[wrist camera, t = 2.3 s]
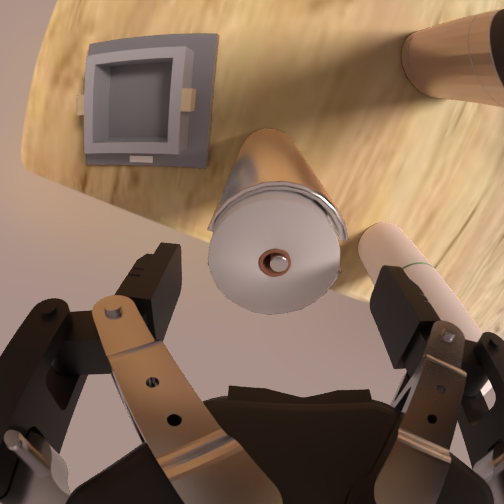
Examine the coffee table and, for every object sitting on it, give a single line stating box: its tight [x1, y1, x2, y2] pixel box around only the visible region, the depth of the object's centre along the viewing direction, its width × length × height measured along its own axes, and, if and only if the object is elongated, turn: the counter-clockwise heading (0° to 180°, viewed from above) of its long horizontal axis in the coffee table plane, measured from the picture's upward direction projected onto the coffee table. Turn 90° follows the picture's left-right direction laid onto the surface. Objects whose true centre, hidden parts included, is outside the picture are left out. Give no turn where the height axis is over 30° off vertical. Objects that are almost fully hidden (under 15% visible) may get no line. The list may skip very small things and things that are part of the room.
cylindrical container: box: [358, 222, 492, 395], centre depth 29 cm, size 7×7×25 cm
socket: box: [77, 34, 219, 169], centre depth 29 cm, size 16×16×6 cm
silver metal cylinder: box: [207, 128, 349, 315], centre depth 24 cm, size 6×6×25 cm
